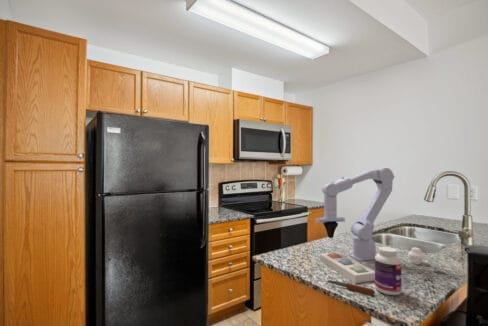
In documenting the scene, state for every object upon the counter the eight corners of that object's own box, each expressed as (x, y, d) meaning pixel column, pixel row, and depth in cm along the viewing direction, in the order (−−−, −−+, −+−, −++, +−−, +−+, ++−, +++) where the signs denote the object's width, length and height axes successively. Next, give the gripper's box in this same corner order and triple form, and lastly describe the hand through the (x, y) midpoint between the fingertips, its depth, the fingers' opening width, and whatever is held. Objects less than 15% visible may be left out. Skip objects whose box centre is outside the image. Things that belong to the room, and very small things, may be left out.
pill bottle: (401, 299, 83) (401, 254, 83) (373, 292, 87) (373, 250, 88) (401, 289, 90) (401, 247, 90) (376, 283, 94) (375, 244, 95)
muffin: (406, 262, 115) (406, 247, 115) (409, 259, 119) (409, 244, 119) (423, 266, 110) (422, 250, 110) (425, 263, 115) (425, 247, 115)
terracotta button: (335, 257, 118) (335, 252, 118) (341, 261, 114) (341, 255, 114) (327, 258, 117) (327, 253, 117) (333, 262, 113) (333, 256, 113)
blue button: (347, 264, 110) (347, 258, 110) (353, 268, 106) (353, 262, 106) (338, 265, 109) (338, 259, 109) (344, 269, 105) (344, 263, 105)
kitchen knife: (374, 295, 86) (374, 289, 86) (374, 296, 85) (374, 290, 85) (327, 283, 95) (327, 277, 95) (326, 284, 94) (326, 279, 94)
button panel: (338, 258, 120) (338, 252, 120) (377, 280, 97) (377, 272, 97) (319, 260, 118) (319, 254, 118) (355, 283, 95) (355, 275, 95)
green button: (359, 271, 103) (359, 265, 103) (367, 275, 98) (367, 269, 98) (350, 272, 101) (350, 266, 101) (358, 277, 97) (358, 270, 97)
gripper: (338, 206, 128) (338, 234, 127) (312, 208, 124) (312, 236, 124) (347, 209, 121) (347, 238, 121) (320, 210, 117) (320, 240, 117)
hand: (330, 237), depth 122 cm, fingers closed
